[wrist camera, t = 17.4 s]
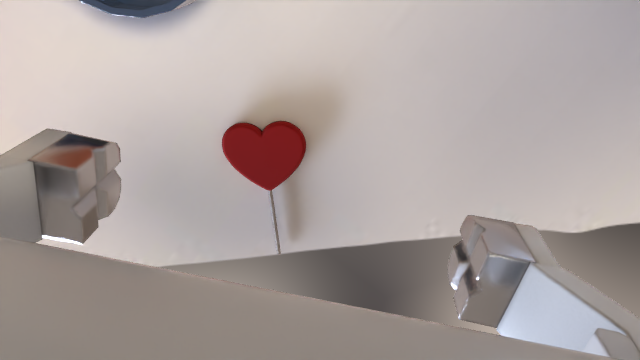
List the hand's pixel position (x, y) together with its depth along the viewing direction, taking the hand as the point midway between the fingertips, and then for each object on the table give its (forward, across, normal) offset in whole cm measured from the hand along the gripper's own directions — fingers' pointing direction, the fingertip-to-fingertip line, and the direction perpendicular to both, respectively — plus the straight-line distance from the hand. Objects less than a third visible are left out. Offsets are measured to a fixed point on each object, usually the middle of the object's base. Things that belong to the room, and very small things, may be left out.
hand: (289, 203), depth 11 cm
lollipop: (+31, +3, +18) cm, 36 cm away
